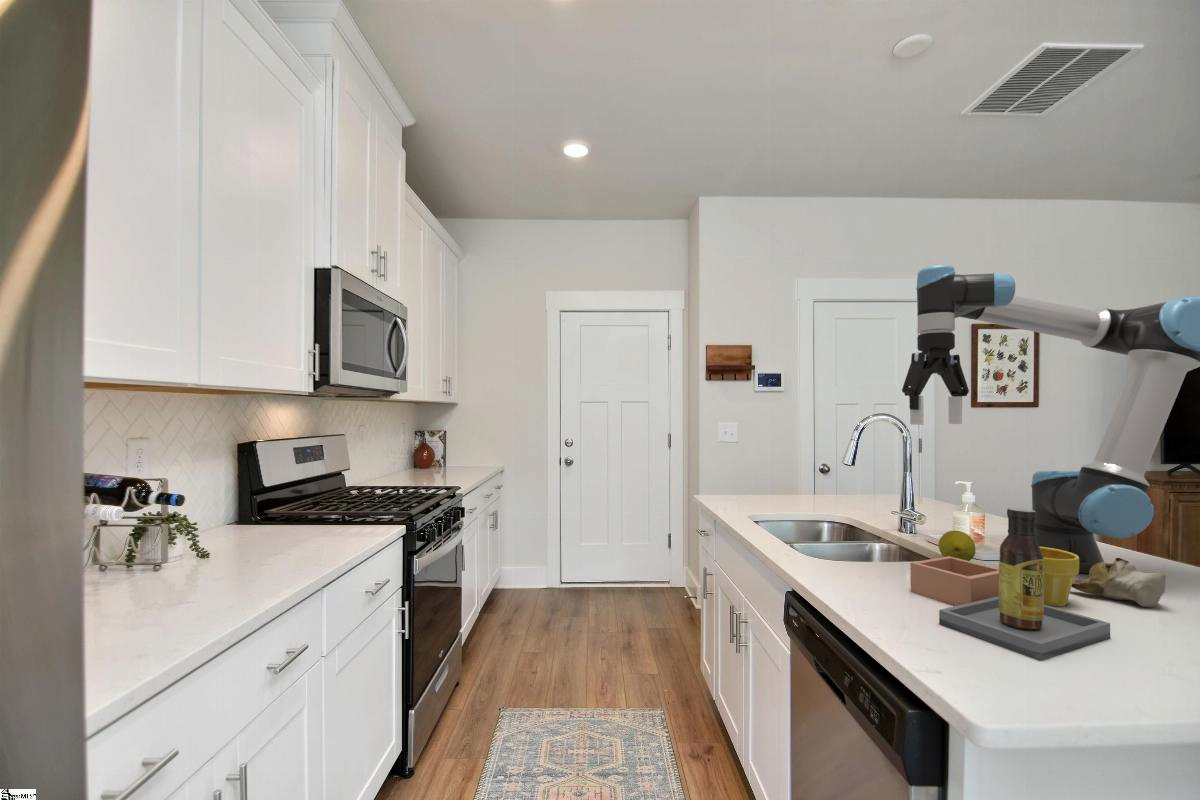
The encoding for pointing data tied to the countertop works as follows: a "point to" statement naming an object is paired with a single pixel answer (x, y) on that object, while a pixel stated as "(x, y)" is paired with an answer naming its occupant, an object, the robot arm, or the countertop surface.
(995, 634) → the grey tray
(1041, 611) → the sauce bottle
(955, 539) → the lemon
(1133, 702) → the countertop surface
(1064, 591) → the plant pot
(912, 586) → the terracotta holder
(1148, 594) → the ceramic sculpture
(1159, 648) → the countertop surface
